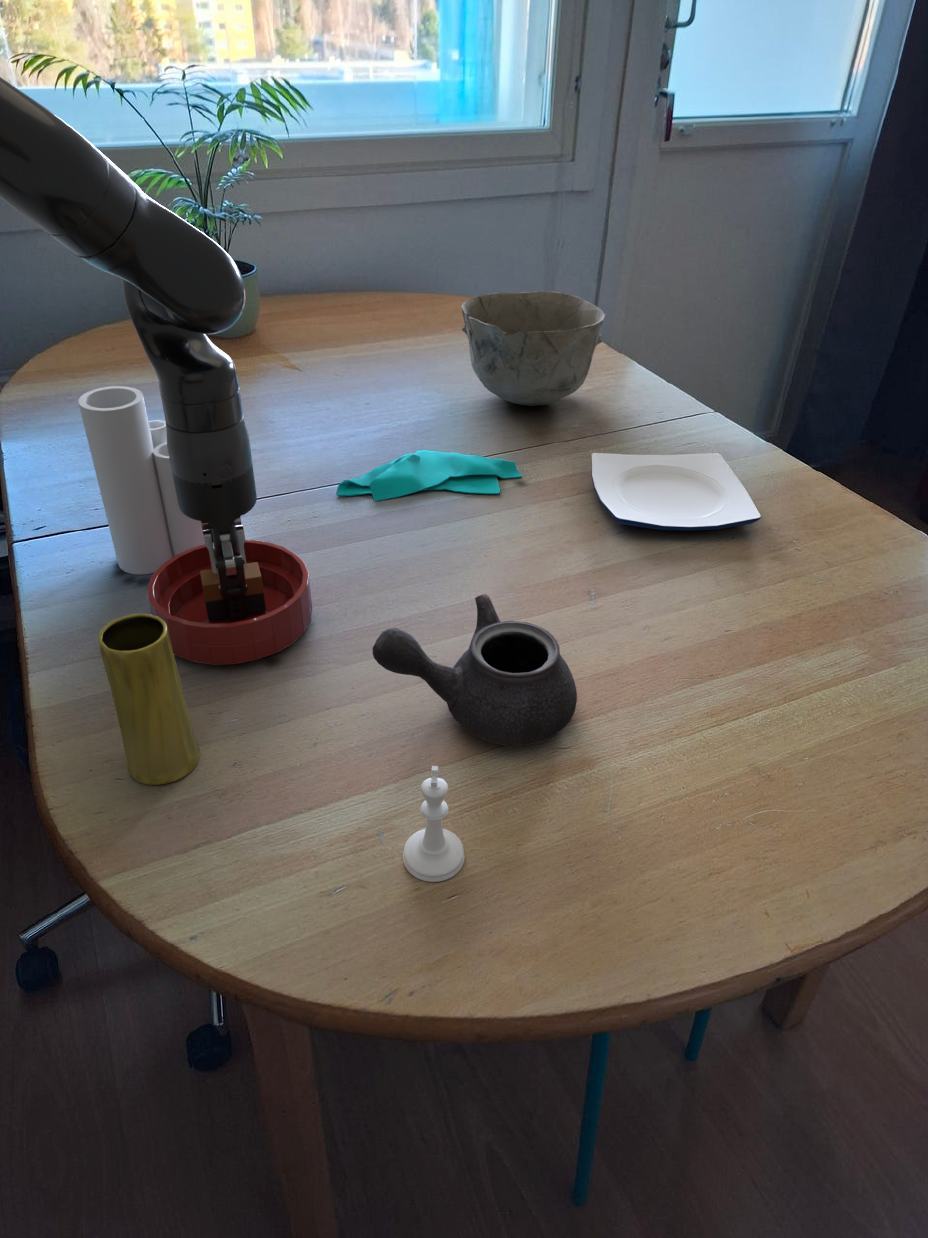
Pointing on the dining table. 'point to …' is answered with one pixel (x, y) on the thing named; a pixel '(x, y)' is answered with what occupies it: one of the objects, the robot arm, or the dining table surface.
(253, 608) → the eraser
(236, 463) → the robot arm
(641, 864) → the dining table surface
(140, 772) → the vase
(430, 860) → the chess piece
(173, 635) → the red bowl
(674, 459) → the plate
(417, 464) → the cloth
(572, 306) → the bowl
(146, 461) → the vase
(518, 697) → the teapot
